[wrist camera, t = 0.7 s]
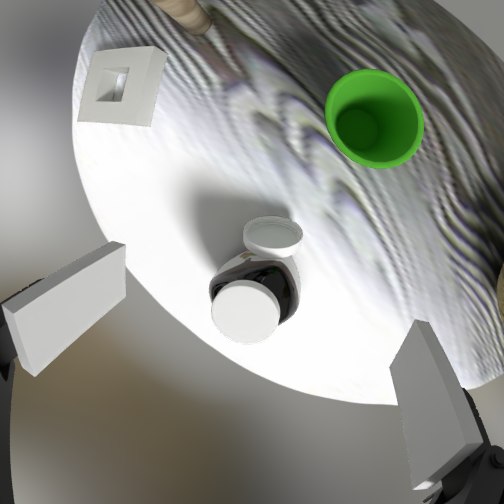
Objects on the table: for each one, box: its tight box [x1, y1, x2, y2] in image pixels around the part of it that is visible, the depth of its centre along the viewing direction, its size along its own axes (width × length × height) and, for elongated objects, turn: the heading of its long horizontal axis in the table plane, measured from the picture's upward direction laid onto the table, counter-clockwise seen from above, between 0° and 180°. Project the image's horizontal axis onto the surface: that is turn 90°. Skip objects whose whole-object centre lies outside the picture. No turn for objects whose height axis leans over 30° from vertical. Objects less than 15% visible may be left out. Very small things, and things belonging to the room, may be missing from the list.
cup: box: [325, 69, 424, 169], centre depth 26 cm, size 9×9×11 cm
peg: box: [151, 0, 212, 35], centre depth 24 cm, size 4×4×13 cm
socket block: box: [77, 46, 168, 127], centre depth 32 cm, size 11×11×4 cm
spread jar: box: [209, 216, 303, 345], centre depth 33 cm, size 12×11×12 cm
